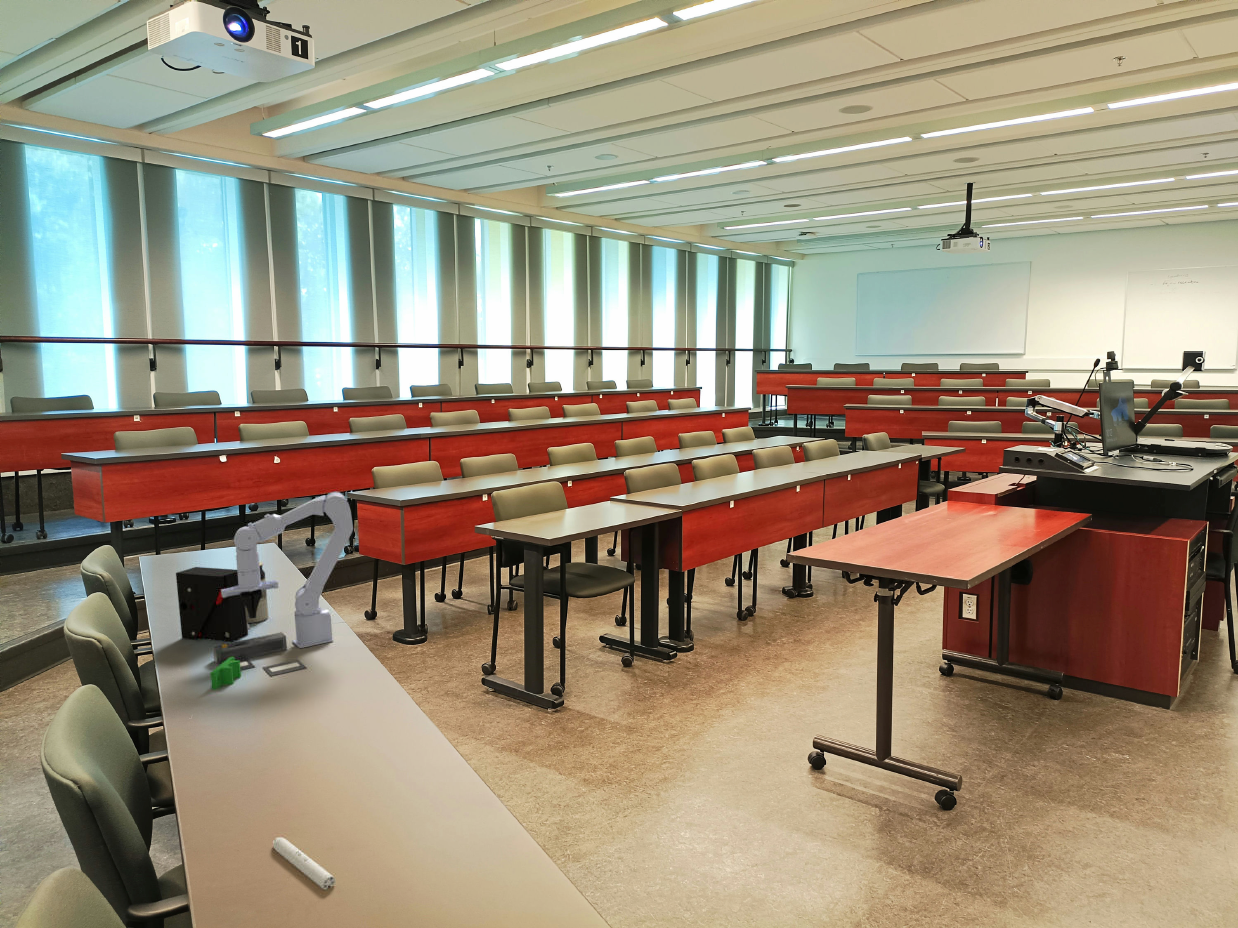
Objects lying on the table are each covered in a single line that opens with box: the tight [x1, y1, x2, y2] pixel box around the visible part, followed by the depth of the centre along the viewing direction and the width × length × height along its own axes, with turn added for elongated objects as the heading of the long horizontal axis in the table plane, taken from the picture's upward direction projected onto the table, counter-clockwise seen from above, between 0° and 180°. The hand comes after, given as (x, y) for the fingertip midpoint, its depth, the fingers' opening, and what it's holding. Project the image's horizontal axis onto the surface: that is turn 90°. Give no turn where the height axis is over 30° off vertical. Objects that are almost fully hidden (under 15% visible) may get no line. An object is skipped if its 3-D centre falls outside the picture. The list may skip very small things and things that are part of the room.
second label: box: [262, 659, 307, 677], centre depth 219 cm, size 9×8×1 cm
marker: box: [272, 837, 336, 890], centre depth 131 cm, size 18×2×2 cm, turn 47°
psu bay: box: [212, 631, 288, 665], centre depth 230 cm, size 18×5×4 cm, turn 126°
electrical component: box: [175, 566, 251, 643], centre depth 247 cm, size 18×10×20 cm, turn 71°
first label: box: [219, 658, 256, 671], centre depth 222 cm, size 7×8×1 cm
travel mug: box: [245, 561, 269, 624], centre depth 263 cm, size 8×8×18 cm
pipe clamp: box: [210, 657, 242, 690], centre depth 211 cm, size 11×4×5 cm, turn 2°
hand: (252, 617), depth 234 cm, fingers closed
